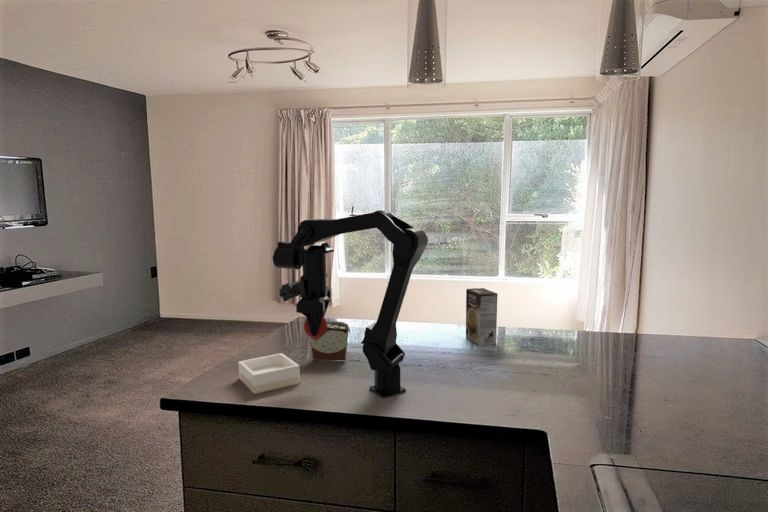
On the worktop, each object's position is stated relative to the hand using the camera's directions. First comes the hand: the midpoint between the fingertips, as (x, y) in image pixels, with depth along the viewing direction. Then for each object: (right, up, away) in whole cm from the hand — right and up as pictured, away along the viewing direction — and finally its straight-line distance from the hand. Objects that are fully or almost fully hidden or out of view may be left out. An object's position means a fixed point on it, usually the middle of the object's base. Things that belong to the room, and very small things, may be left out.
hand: (315, 332), depth 121 cm
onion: (0, -2, 0) cm, 2 cm away
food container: (+2, -10, +18) cm, 21 cm away
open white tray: (-12, -12, +1) cm, 17 cm away
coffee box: (+47, -8, +32) cm, 58 cm away
